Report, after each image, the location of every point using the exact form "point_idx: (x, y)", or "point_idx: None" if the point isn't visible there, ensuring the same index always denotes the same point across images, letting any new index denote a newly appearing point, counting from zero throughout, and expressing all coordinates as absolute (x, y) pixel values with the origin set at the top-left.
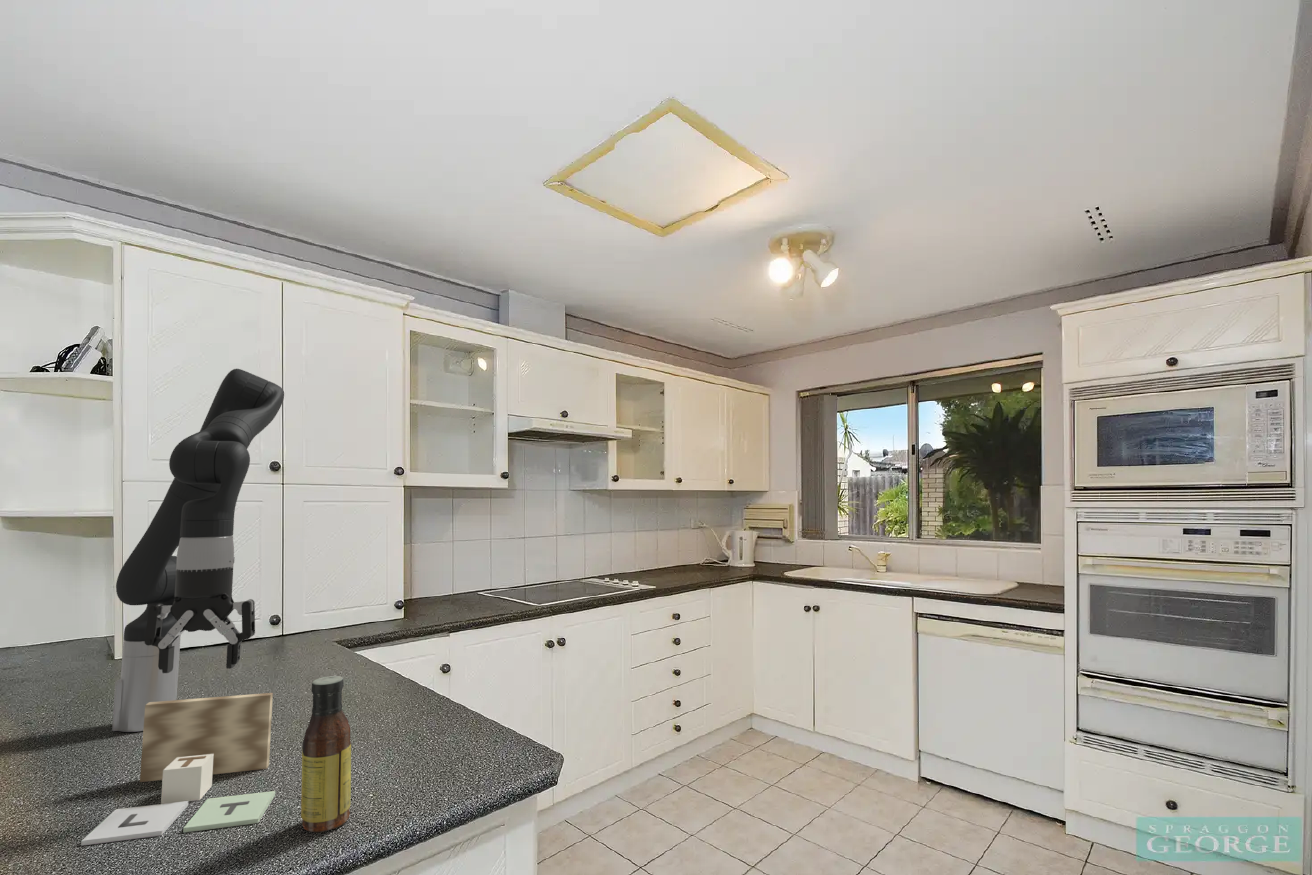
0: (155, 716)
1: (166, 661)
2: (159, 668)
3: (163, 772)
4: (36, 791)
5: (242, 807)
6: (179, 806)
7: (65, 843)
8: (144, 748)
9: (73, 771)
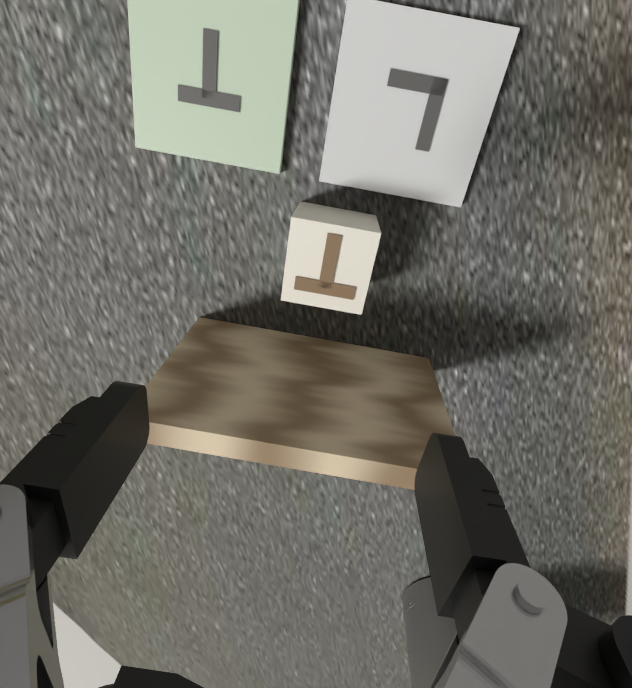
0: None
1: (458, 478)
2: (481, 463)
3: (379, 231)
4: (596, 396)
5: (186, 65)
6: (332, 153)
7: (546, 68)
8: (437, 396)
9: (540, 459)
